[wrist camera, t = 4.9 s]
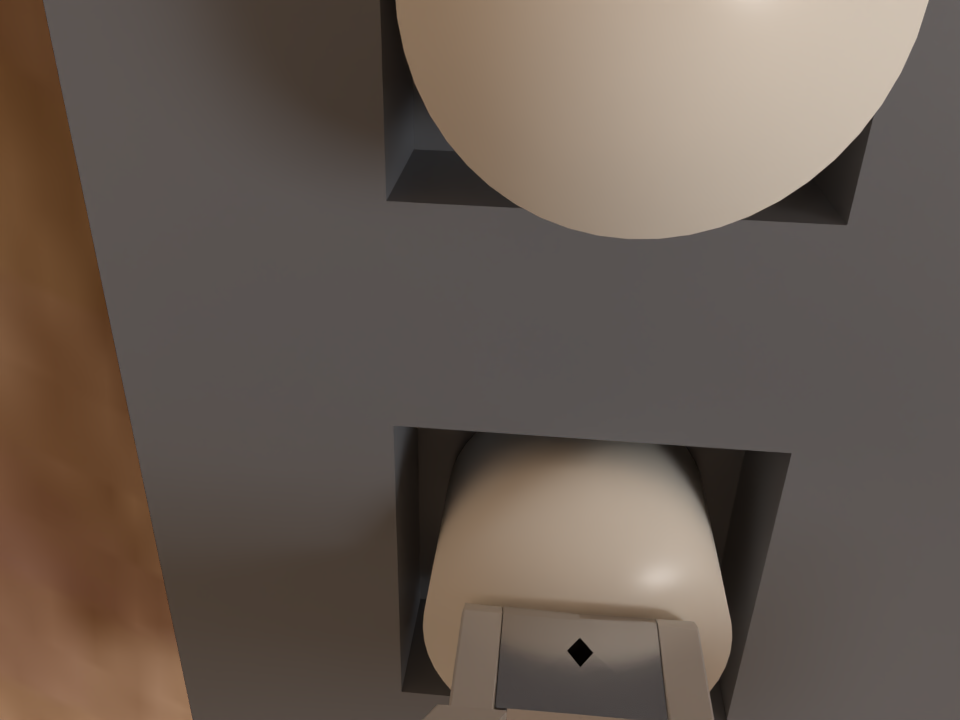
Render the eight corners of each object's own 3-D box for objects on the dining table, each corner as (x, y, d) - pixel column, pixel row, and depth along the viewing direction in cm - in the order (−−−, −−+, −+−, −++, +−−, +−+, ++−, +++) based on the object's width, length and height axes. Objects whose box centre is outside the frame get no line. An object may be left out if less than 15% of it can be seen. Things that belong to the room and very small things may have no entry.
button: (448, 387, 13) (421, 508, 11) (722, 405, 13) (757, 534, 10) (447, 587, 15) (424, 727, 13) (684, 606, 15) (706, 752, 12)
